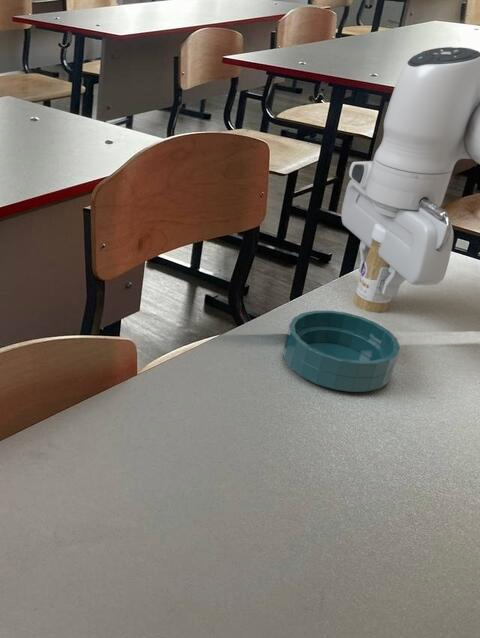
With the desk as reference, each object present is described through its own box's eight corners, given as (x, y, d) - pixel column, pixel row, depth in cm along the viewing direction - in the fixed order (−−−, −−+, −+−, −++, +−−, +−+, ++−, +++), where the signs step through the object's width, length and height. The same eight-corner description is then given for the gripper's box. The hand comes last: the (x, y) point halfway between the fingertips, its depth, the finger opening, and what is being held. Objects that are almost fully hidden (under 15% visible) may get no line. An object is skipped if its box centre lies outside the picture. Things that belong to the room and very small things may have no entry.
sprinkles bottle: (343, 308, 106) (369, 218, 99) (376, 309, 106) (404, 219, 99) (356, 325, 102) (384, 232, 95) (390, 325, 102) (420, 233, 95)
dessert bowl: (359, 339, 98) (368, 309, 96) (409, 395, 88) (420, 362, 85) (267, 341, 98) (274, 310, 95) (306, 397, 87) (315, 364, 85)
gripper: (481, 217, 85) (443, 322, 92) (390, 159, 103) (363, 252, 110) (427, 217, 85) (392, 323, 92) (345, 159, 103) (321, 252, 110)
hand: (376, 284), depth 101 cm, fingers closed on sprinkles bottle, 4 cm apart
